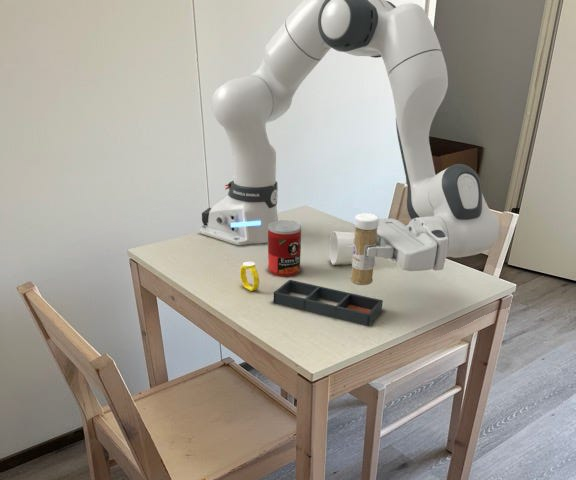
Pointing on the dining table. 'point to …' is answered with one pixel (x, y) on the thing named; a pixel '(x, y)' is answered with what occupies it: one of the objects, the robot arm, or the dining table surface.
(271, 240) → the canned food
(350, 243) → the white cup
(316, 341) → the dining table surface
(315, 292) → the compartment tray
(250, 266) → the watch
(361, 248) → the sprinkles bottle
